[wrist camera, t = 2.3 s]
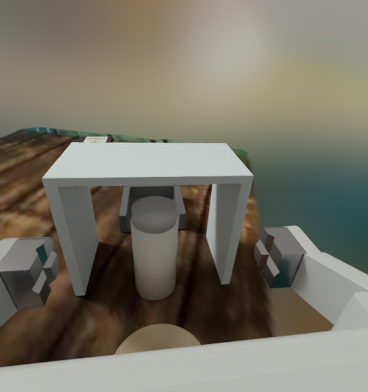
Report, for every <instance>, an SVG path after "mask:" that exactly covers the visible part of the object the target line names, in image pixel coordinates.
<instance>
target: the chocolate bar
mask: <svg viewBox="0 0 368 392" xmlns="http://www.w3.org/2000/svg"><path fill="white" fill-rule="evenodd" d="M111 141H112V137H82V138H81V139H80V141H79V142H78V143H111Z"/></svg>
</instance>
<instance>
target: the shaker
mask: <svg viewBox="0 0 368 392" xmlns="http://www.w3.org/2000/svg"><path fill="white" fill-rule="evenodd" d="M130 223H131V235H132V247H133V259H134V272H135V284H136V290H137V292H138V293H139V295H140V296H142V297H143V298H145V299H148V300H154V301H155V300H161V299H164V298H166V297H168V296H169V295H170V294H171V293H172V292H173V290H174V288H175V283H176V261H177V240H178V217H177V206H176V204H175V203H174V202H173V201H172V200H171V199H168V198H166V197H161V196H149V197H144V198H141V199H139V200H137V201H136V202H135V203H134V204H133V205H132V217H131V221H130Z"/></svg>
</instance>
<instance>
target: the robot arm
mask: <svg viewBox="0 0 368 392" xmlns="http://www.w3.org/2000/svg"><path fill="white" fill-rule="evenodd" d="M258 237H259V238H260V240H259V241H258V242H257V243H256V245H255V249H254V253H255V259H256V262H257V264H258V266H259V267H261V268H262V269H263V270H264V273H263V276H264V278H265V280H266V282H267V283H268V285H269V287H270V288H286V287H291V289H292V290H293V291H294V292H295V293H297V294H298V295H299V296H300V297H301V298H302V299H304V300H305V301H306V302H307V303H308V304H310V305H311V306H312V307H313V308H315V309H316V310H317V311H318V312H319V313H320V314H322V315H323V316H324V317H325V318H327V319H328V320H329V321H330V322H331V323H332V324H334V326H333V328H332V329H331V331H325V332H317V333H307V334H299V335H289V336H280V337H271V338H262V339H253V340H244V341H235V342H226V343H217V344H208V345H199V346H190V347H181V348H171V349H162V350H153V351H144V352H135V353H126V354H117V355H108V356H99V357H89V358H80V359H71V360H62V361H53V362H44V363H35V364H26V365H17V366H8V367H0V392H368V275H367V274H365V273H363V272H361V271H359V270H357V269H355V268H353V267H351V266H349V265H347V264H346V263H344V262H342V261H340V260H338V259H336V258H334V257H332V256H330V255H328V254H327V253H321V252H320V251H319V250H318V249H317V247H316V246H315V245H314V244H313V243H312V242H311V241H310V239H309V238H308V237H307V236H306V235H305V234H304V232H303V231H302V230H301V229H300V228H299V227H297V226H286V227H273V228H261V229H260V231H259V234H258ZM53 247H54V243H53V241H52V239H51V238H49V237H38V238H6V239H3V240H1V241H0V327H1V326H2V325H3V324H4V323H5V322H6V321H7V320H8V319H9V318H10V317H11V316H12V315H13V314H15V313H16V312H17V309H25V308H35V307H44V306H45V303H46V301H47V298H48V296H49V294H50V291H51V289H50V286H49V284H50V283H52V282H53V281H54V280H55V279H56V276H57V274H58V268H59V261H58V256H57V254H56V253H54V252H53V251H52V249H53Z"/></svg>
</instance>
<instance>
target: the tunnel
mask: <svg viewBox="0 0 368 392" xmlns="http://www.w3.org/2000/svg"><path fill="white" fill-rule="evenodd" d="M252 180H253V174H252V173H251V172H250V171H249V170H248V169H247V168H246V166H245V165H244V164H243V163H242V162H241V161H240V159H239V158H238V157H237V156H236V155H235V154H234V152H233V151H232V150H231V149H230V148H229V147H228V145H227V144H225V143H218V144H217V143H77V142H72V143H71V144H70V145H69V147H68V148H67V149H66V150H65V151H64V153H63V154H62V155H61V156H60V157H59V158H58V160H57V161H56V162H55V163H54V164H53V166H52V167H51V168H50V169H49V170H48V172H47V173H46V174H45V175H44V176H43V178H42V181H43V184H44V188H45V191H46V195H47V198H48V202H49V205H50V209H51V212H52V215H53V219H54V222H55V226H56V229H57V233H58V236H59V240H60V243H61V247H62V250H63V254H64V257H65V261H66V264H67V268H68V271H69V275H70V278H71V282H72V285H73V289H74V292H75V296H82V295H85V293H86V289H87V285H88V281H89V277H90V273H91V269H92V265H93V262H94V258H95V254H96V250H97V246H98V242H99V241H98V235H97V229H96V224H95V218H94V212H93V207H92V201H91V195H90V190H89V186H130V185H186V184H213V186H212V194H211V202H210V210H209V218H208V226H207V233H206V237H207V241H208V244H209V247H210V250H211V253H212V256H213V259H214V262H215V266H216V269H217V272H218V275H219V278H220V281H221V284H230V279H231V275H232V270H233V266H234V261H235V256H236V252H237V247H238V243H239V238H240V234H241V229H242V225H243V220H244V216H245V211H246V207H247V202H248V198H249V193H250V189H251V184H252Z"/></svg>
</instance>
